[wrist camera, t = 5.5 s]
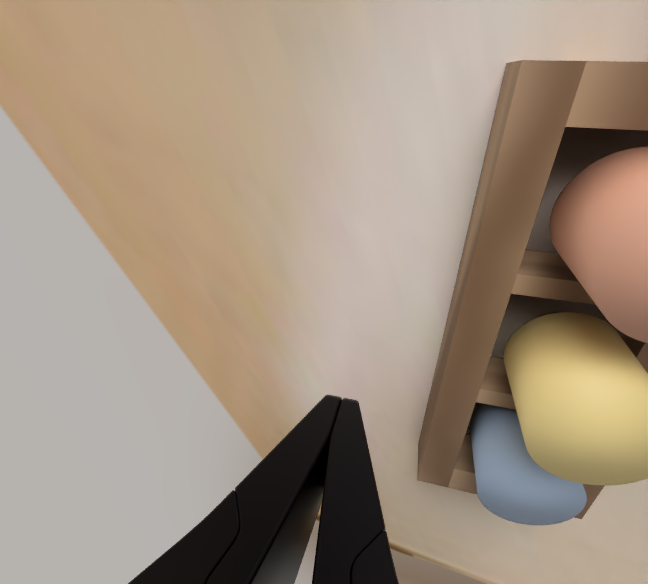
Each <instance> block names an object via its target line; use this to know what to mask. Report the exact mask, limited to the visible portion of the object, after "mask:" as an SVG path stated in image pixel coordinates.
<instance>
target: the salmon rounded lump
mask: <svg viewBox="0 0 648 584" xmlns="http://www.w3.org/2000/svg"><path fill="white" fill-rule="evenodd" d="M549 226H550V236H551V240H552V243H553V245H554V247H555V249H556V251H557V252H558V254H559V255H560V256H561V258H562V259H563V260H564V262H565V263H566V264H567V266H568V267H569V269H570V270H571V271H572V273H573V274H574V275H575V277H576V278H577V279H578V281H579V282H580V284H581V285H582V286H583V288H584V289H585V290H586V292H587V293H588V294H589V296H590V297H591V299H592V300H593V301H594V303H595V304H596V305H597V307H598V308H599V309H600V311H601V312H602V314H603V315H604V316H605V318H606V319H607V320H608V321H609V322H610V323H611V324H612V325H613V326H614V327H615V328H616V329H618V330H619V331H621V332H622V333H624V334H626V335H627V336H629V337H632V338H634V339H636V340H639V341H642V342H645V343H648V147H637V148H630V149H626V150H622V151H619V152H616V153H613V154H610V155H608V156H605V157H603V158H601V159H599V160H597V161H596V162H594V163H592V164H590V165H589V166H588V167H586V168H585V169H583V170H582V171H581V172H580V173H578V174H577V175H576V176H575V177H574V178H573V179H572V180H571V181H570V182H569V183H568V184H567V185H566V187H565V188H564V189H563V191H562V192H561V193H560V195H559V197H558V198H557V200H556V202H555V205H554V207H553V209H552V213H551V217H550V225H549Z"/></svg>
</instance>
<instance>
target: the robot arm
mask: <svg viewBox="0 0 648 584" xmlns="http://www.w3.org/2000/svg"><path fill="white" fill-rule="evenodd" d="M321 503H322V506H321ZM320 506H321V514H320V522H319V530H318V540H317V547H316V555H315V563H314V571H313V580H312V584H399V583H398V579H397V576H396V571H395V567H394V563H393V559H392V555H391V551H390V546H389V542H388V537H387V533H386V531H385V524H384V519H383V514H382V510H381V505H380V500H379V496H378V491H377V486H376V482H375V477H374V472H373V468H372V463H371V458H370V453H369V449H368V444H367V439H366V435H365V430H364V425H363V421H362V416H361V411H360V407H359V403H358V401H357V400H352V399H347V398H343V399H342V398H340V397H337V396H332V395H326V396H325V397H324V398H323V399H322V400H321V401H320V402H319V403H318V404H317V405H316V406H315V407H314V408H313V409H312V410H311V411H310V412H309V413H308V414H307V415H306V416H305V417H304V418H303V419H302V420H301V421H300V422H299V423H298V424H297V425H296V426H295V427H294V428H293V429H292V430H291V431H290V432H289V433H288V435H287V436H286V437H285V438H284V439H283V440H282V441H281V442H280V443H279V444H278V445H277V446H276V447H275V448H274V449H273V450H272V451H271V452H270V453H269V454H268V455H267V456H266V457H265V458H264V459H263V460H262V461H261V462H260V463H259V464H258V465H257V466H256V468H254V469H253V470H252V471H251V472H250V473H249V475H247V477H246V478H245V479H244V480H243V481H242V482H241V483H240V484H239V485H238V486H237V487H236V488H235V491H234V490H233V491H232V492H231V493H230V494H229V495H228V496H227V497H226V498H225V499H224V500H223V501H222V502H221V503H220V504H219V505H218V506H217V507H216V508H215V509H214V510H213V511H212V512H211V513H210V514H209V515H208V516H207V517H206V518H204V520H202V521H201V522H200V523H199V524H198V525H197V526H196V527H194V528H193V529H192V530H191V531H190V532H189V533H188V534H186V535H185V536H184V537H183V538H182V539H181V540H180V541H178V542H177V543H176V544H175V545H174V546H172V547H171V548H170V549H169V550H168V551H166V552H165V553H164V554H163V555H162V556H160V557H159V558H158V559H157V560H156V561H155V562H153V563H152V564H151V565H150V566H148V567H147V568H146V569H145V570H144V571H143V572H141V573H140V574H139V575H138V576H137V577H135V578H134V579H133V580H132V581H131V582H129V583H128V584H294V583H295V580H296V577H297V574H298V571H299V568H300V565H301V562H302V559H303V556H304V553H305V550H306V547H307V544H308V541H309V538H310V535H311V532H312V529H313V526H314V524H315V521H316V518H317V515H318V512H319V509H320Z"/></svg>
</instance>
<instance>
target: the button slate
mask: <svg viewBox="0 0 648 584" xmlns="http://www.w3.org/2000/svg"><path fill="white" fill-rule="evenodd" d="M469 424H470V433H471V442H472V451H473V459H474V468H475V477H476V486H477V493H478V497H479V499H480V501H481V503H482V504H483V505H484V506H485V507H486V508H487V509H488V510H489V511H491V512H492V513H494V514H495V515H497V516H499V517H501V518H504V519H506V520H509V521H512V522H516V523H521V524H527V525H550V524H557V523H561V522H564V521H567V520H569V519H571V518H573V517H575V516H576V515H578V514H579V513H580V512H581V511H582V510H583V509H584V507H585V505H586V501H587V496H586V492H585V489H584V487H583V484H582V483H576V482H572V481H568V480H565V479H562V478H559V477H557V476H555V475H553V474H551V473H549V472H547V471H546V470H544V469H543V468H541V467H540V466H539V465H538V464H537V463H536V462H535V461H534V460H533V459H532V458H531V456H530V455H529V453H528V451H527V448H526V445H525V441H524V438H523V434H522V430H521V426H520V422H519V418H518V415H517V411H516V410H515V409H509V408H504V407H499V406H494V405H488V404H483V403H478V402H476V403H475V406H474V409H473V412H472V415H471V419H470V422H469Z"/></svg>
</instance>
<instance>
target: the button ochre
mask: <svg viewBox="0 0 648 584" xmlns="http://www.w3.org/2000/svg"><path fill="white" fill-rule="evenodd" d="M503 359H504V365H505V368H506V372H507V376H508V380H509V384H510V388H511V391H512V395H513V399H514V403H515V407H516V411H517V415H518V418H519V422H520V426H521V430H522V434H523V438H524V441H525V445H526V448H527V451H528V453H529V455H530V456H531V458H532V459H533V460H534V461H535V462H536V463H537V464H538V465H539V466H540V467H541V468H543V469H544V470H546V471H547V472H549V473H551V474H553V475H555V476H557V477H559V478H562V479H565V480H568V481H572V482H576V483H582V484H589V485H620V484H627V483H632V482H637V481H640V480H644V479H647V478H648V373H647V372H646V370H645V369H644V368H643V366H642V365H641V364H640V362H639V361H638V360H637V358H636V357H635V355H634V354H633V353H632V351H631V350H630V349H629V347H628V346H627V345H626V343H625V342H624V341H623V339H622V338H621V336H620V335H619V334H618V332H617V331H616V330H615V329H614V328H613V327H612V326H611V325H610V324H608V323H607V322H605V321H604V320H602V319H600V318H598V317H595V316H592V315H589V314H584V313H578V312H559V313H552V314H547V315H544V316H541V317H538V318H535V319H533V320H531V321H529V322H527V323H525V324H524V325H523V326H521V327H520V328H519V329H517V330H516V331H515V332H514V333H513V335H512V336H511V337H510V338H509V340H508V342H507V344H506V346H505V349H504V355H503Z"/></svg>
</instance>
